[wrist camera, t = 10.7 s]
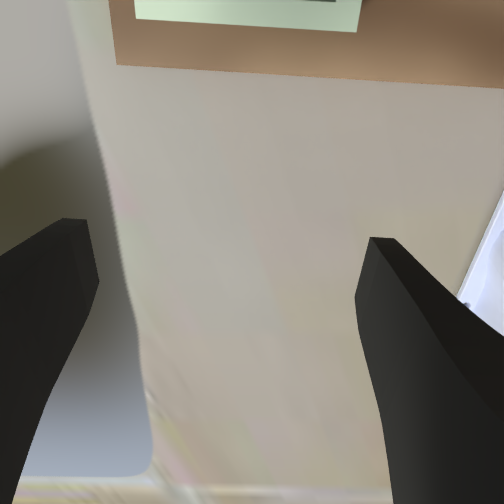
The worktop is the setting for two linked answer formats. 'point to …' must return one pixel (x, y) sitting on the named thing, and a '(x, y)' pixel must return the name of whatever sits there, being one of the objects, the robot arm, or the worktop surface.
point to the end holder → (257, 13)
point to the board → (333, 44)
